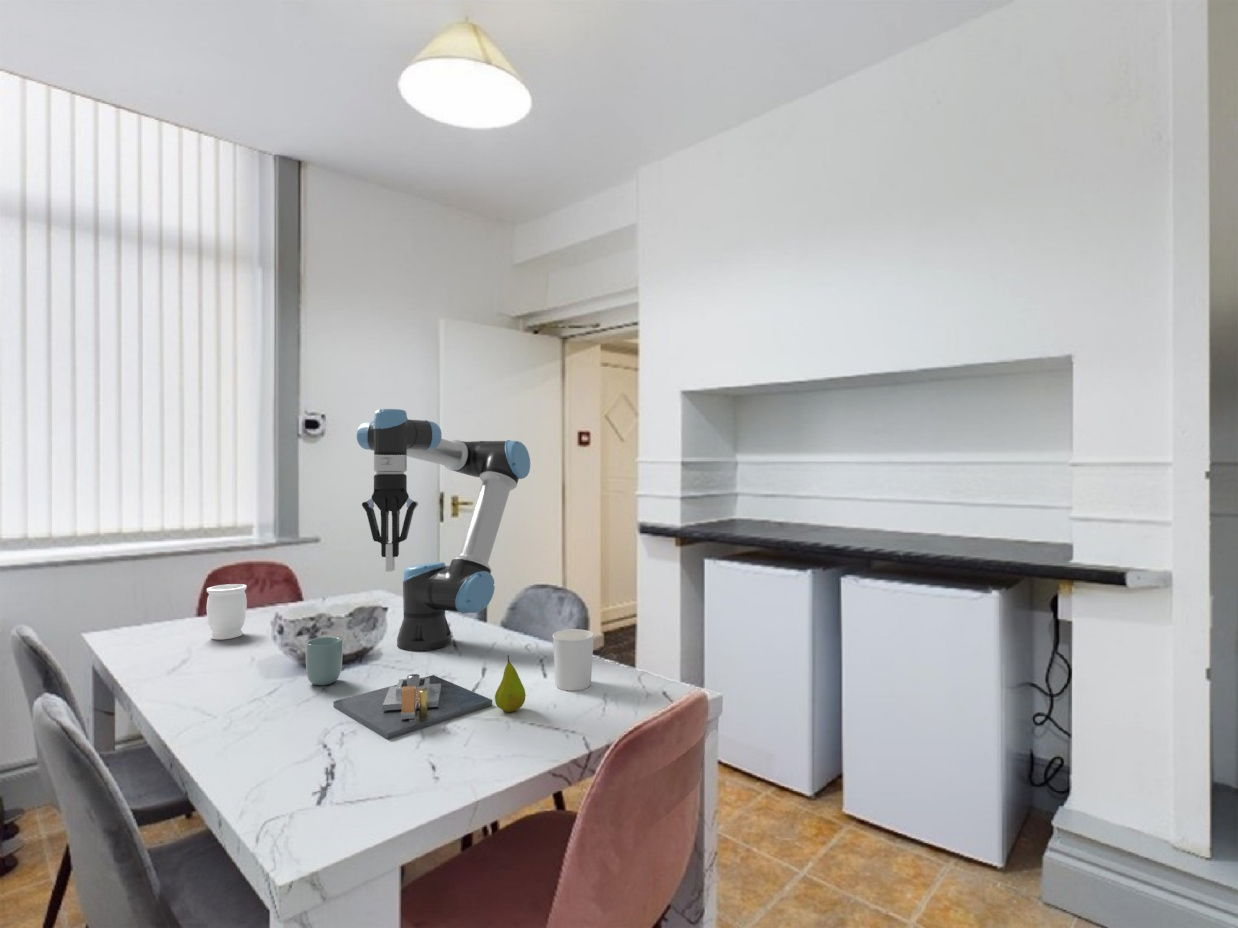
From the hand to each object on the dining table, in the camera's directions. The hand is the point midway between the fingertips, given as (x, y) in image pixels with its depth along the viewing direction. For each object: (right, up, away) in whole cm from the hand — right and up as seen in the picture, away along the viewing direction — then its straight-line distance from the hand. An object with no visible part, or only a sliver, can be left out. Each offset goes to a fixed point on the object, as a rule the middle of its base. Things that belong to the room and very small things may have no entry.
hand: (390, 570), depth 158 cm
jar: (-63, -26, +38) cm, 78 cm away
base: (+11, -27, -17) cm, 33 cm away
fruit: (+32, -27, -20) cm, 46 cm away
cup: (-15, -27, -3) cm, 31 cm away
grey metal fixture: (+12, -25, -20) cm, 34 cm away
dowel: (+16, -25, -26) cm, 39 cm away
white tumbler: (+45, -27, -4) cm, 52 cm away
